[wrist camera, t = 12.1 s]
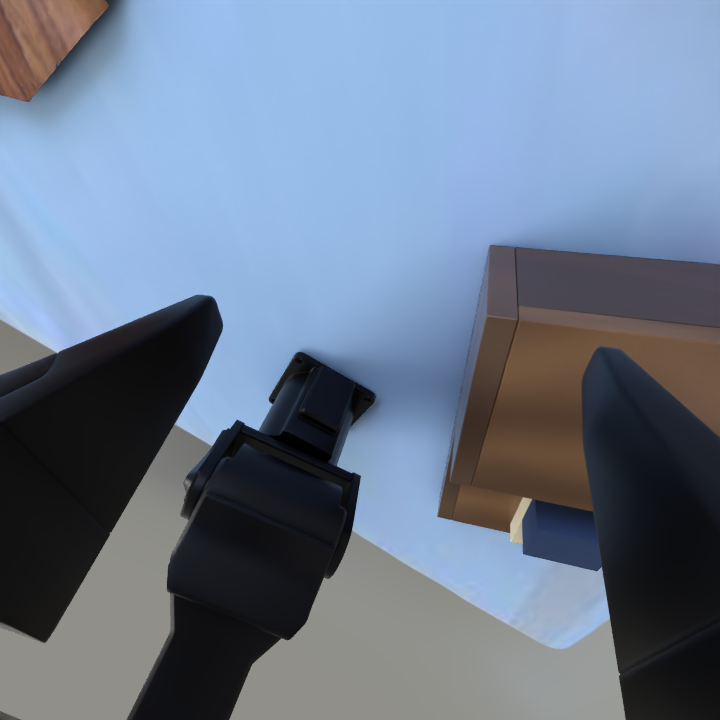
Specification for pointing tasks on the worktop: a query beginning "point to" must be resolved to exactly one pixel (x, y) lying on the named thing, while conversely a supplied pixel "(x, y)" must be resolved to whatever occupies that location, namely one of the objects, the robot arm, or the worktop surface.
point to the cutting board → (39, 40)
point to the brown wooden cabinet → (568, 369)
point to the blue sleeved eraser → (556, 533)
